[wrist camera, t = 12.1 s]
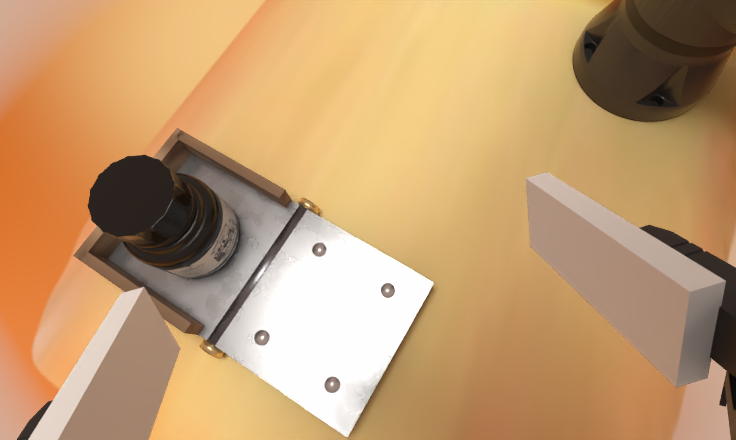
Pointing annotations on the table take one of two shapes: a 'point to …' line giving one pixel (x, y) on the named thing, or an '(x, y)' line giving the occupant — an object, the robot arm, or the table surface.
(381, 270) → the hinge
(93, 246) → the holder
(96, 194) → the ink bottle
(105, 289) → the table surface
